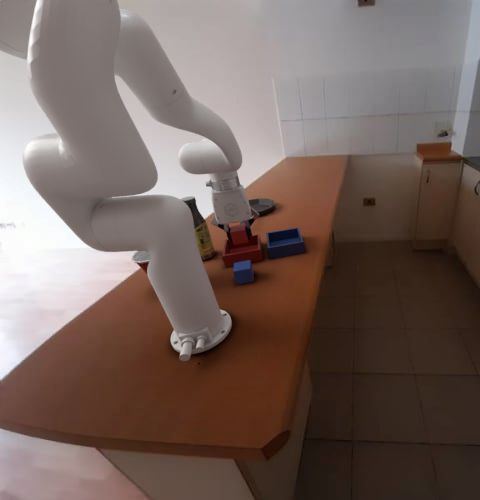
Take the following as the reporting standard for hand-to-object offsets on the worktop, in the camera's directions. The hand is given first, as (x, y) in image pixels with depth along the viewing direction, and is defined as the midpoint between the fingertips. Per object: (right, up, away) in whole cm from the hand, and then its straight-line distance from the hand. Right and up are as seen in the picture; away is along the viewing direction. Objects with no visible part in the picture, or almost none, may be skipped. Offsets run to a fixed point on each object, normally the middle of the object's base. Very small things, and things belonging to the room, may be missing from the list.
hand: (240, 239), depth 88 cm
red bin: (0, -5, +3) cm, 6 cm away
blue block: (+4, -12, -9) cm, 15 cm away
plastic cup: (-17, -14, -9) cm, 24 cm away
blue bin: (+13, -3, +5) cm, 15 cm away
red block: (0, 0, 0) cm, 1 cm away
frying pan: (-5, +10, +30) cm, 32 cm away
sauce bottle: (-13, -6, +4) cm, 14 cm away
